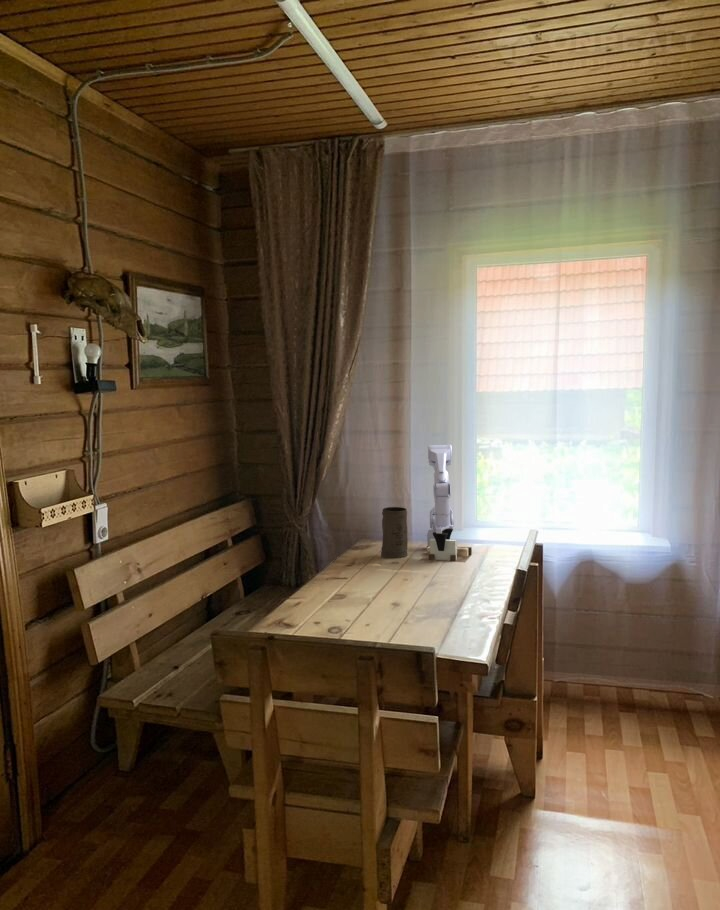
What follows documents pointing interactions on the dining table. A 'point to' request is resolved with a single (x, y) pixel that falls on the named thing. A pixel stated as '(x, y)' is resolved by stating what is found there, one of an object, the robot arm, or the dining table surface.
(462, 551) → the offcut right
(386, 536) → the beer stein
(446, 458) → the robot arm
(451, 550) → the panel
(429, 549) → the offcut left
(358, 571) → the dining table surface
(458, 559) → the rack
